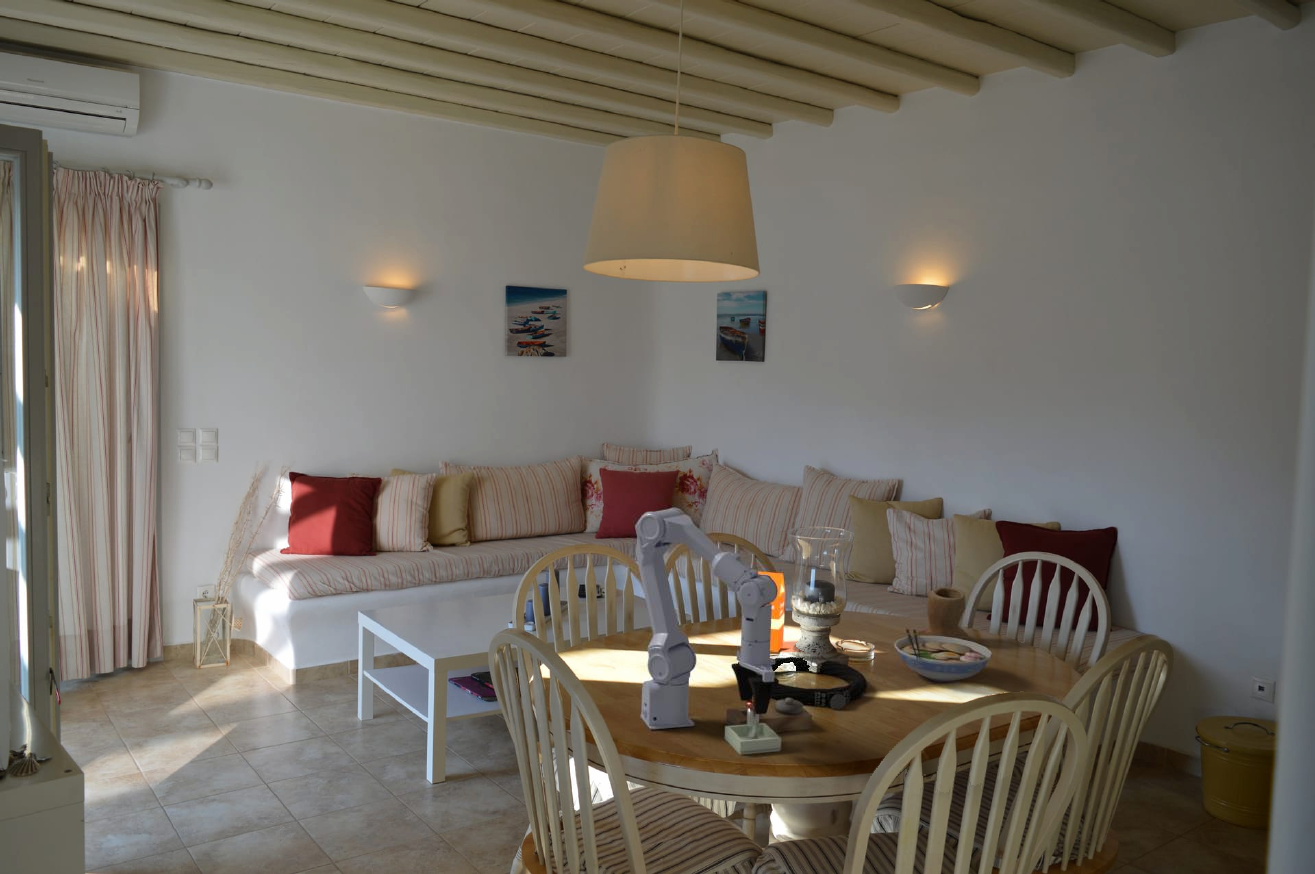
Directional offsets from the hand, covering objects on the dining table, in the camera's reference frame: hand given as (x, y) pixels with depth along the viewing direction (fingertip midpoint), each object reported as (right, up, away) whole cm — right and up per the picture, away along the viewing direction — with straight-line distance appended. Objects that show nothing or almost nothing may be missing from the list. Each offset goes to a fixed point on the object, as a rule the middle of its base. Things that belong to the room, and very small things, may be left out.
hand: (753, 706), depth 193 cm
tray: (0, -8, 0) cm, 8 cm away
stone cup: (+60, -4, +78) cm, 99 cm away
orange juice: (+10, -3, +69) cm, 70 cm away
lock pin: (0, -7, +1) cm, 7 cm away
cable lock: (+16, -6, +36) cm, 40 cm away
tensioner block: (+4, -7, +11) cm, 13 cm away
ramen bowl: (+50, -6, +46) cm, 68 cm away
